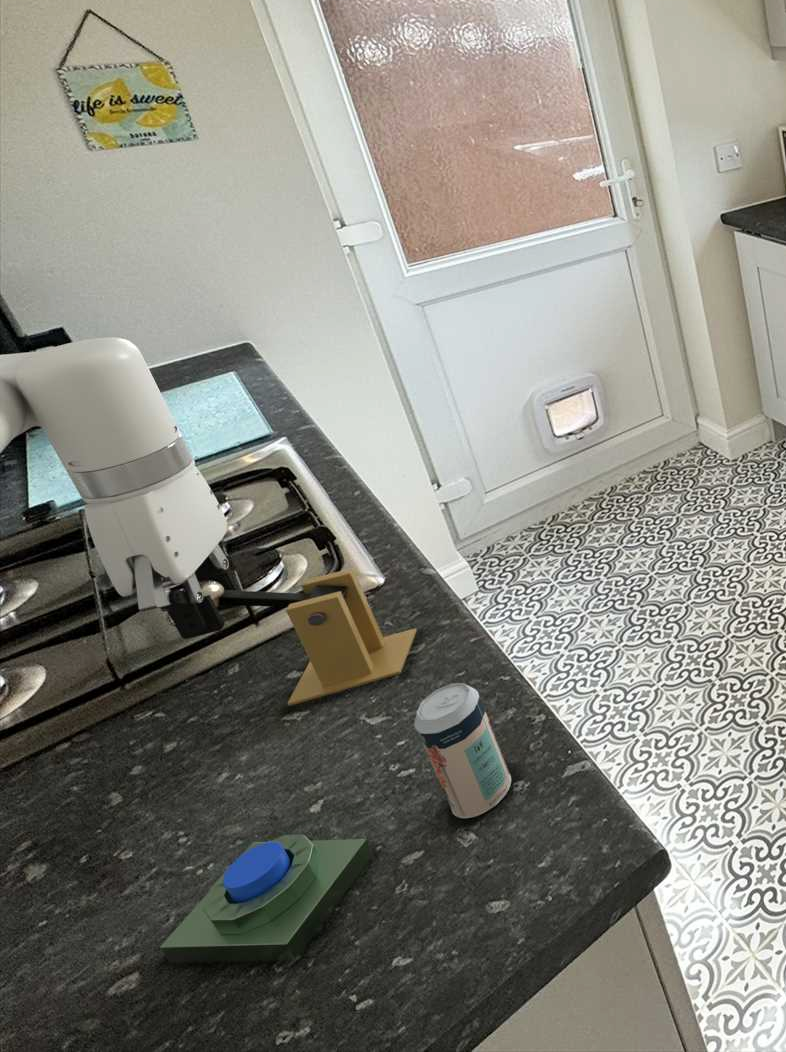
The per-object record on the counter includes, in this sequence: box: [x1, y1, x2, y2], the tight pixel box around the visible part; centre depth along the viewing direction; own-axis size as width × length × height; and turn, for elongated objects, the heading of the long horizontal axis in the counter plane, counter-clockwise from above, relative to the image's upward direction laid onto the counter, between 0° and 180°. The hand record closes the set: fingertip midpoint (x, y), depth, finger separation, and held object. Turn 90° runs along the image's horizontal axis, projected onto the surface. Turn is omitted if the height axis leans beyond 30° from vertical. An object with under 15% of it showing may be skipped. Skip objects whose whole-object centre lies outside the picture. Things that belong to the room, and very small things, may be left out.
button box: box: [159, 834, 374, 964], centre depth 63 cm, size 10×8×4 cm
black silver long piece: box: [183, 580, 348, 608], centre depth 81 cm, size 13×3×3 cm, turn 113°
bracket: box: [285, 568, 418, 707], centre depth 85 cm, size 10×7×12 cm
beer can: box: [413, 682, 512, 819], centre depth 70 cm, size 5×5×12 cm
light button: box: [223, 841, 290, 902], centre depth 62 cm, size 4×4×2 cm
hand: (213, 618), depth 80 cm, fingers closed on black silver long piece, 3 cm apart
